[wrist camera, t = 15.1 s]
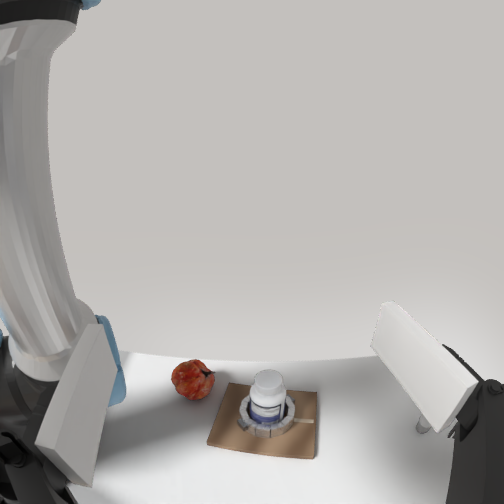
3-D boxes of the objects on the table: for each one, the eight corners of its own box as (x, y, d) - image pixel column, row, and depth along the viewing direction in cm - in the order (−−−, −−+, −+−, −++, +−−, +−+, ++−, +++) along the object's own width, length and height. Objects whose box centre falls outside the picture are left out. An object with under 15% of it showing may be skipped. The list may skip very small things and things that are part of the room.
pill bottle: (261, 401, 43) (263, 361, 40) (289, 414, 41) (295, 374, 37) (243, 421, 39) (241, 382, 36) (271, 435, 36) (275, 397, 33)
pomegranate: (175, 410, 44) (211, 404, 40) (152, 378, 44) (185, 367, 40) (197, 389, 51) (232, 379, 46) (176, 359, 51) (210, 346, 46)
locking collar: (235, 433, 37) (234, 425, 36) (246, 396, 45) (246, 386, 44) (290, 440, 35) (292, 432, 35) (295, 401, 43) (296, 392, 42)
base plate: (207, 445, 35) (206, 441, 35) (229, 386, 48) (229, 382, 48) (312, 459, 32) (313, 455, 32) (316, 395, 45) (317, 391, 45)
